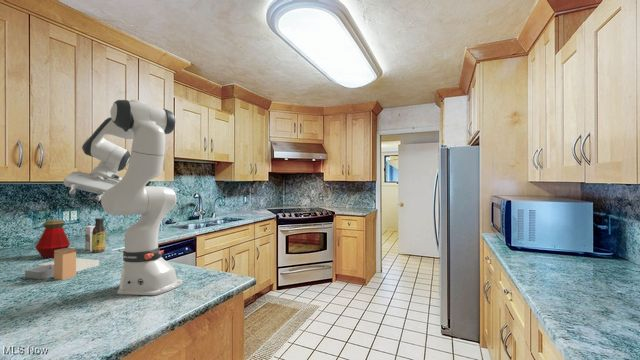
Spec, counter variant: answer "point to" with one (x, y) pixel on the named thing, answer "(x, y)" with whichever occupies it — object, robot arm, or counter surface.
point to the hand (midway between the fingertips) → (84, 196)
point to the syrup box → (88, 237)
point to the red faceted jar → (52, 239)
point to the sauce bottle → (98, 236)
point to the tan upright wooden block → (64, 263)
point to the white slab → (48, 268)
